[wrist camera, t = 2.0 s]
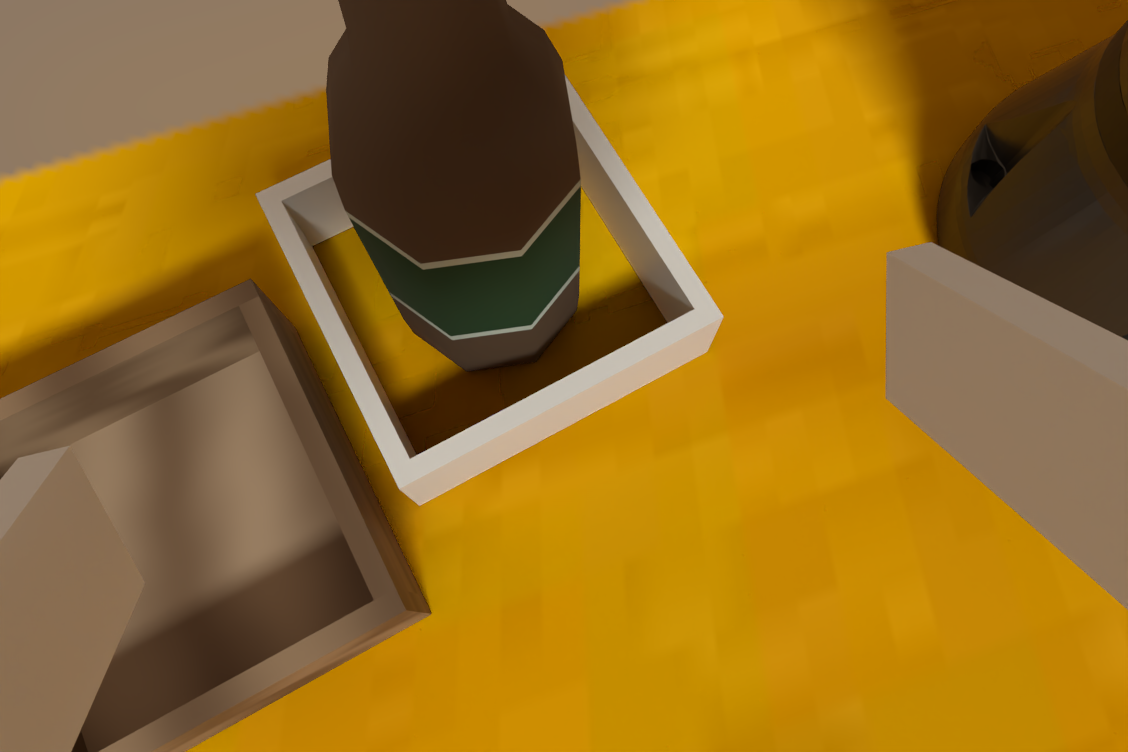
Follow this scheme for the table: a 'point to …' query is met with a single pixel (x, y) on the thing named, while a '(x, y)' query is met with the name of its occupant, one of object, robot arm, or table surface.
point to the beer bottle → (459, 171)
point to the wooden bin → (219, 519)
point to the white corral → (317, 213)
